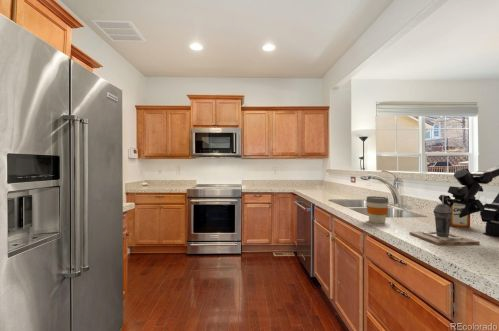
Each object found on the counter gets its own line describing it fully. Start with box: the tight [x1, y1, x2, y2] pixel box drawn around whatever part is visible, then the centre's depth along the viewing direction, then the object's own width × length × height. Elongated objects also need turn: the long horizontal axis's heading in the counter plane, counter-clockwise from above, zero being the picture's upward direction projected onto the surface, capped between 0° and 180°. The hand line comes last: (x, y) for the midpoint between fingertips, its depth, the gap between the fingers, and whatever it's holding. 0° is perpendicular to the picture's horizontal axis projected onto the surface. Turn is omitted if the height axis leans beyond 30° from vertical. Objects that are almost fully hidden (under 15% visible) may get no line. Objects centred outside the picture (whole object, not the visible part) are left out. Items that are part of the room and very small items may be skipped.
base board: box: [409, 230, 480, 246], centre depth 124 cm, size 20×18×2 cm
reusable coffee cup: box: [365, 195, 389, 224], centre depth 161 cm, size 12×13×15 cm
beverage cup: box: [433, 194, 452, 238], centre depth 124 cm, size 7×7×20 cm
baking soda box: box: [450, 197, 471, 228], centre depth 151 cm, size 10×6×16 cm
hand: (450, 215), depth 125 cm, fingers open, 9 cm apart
